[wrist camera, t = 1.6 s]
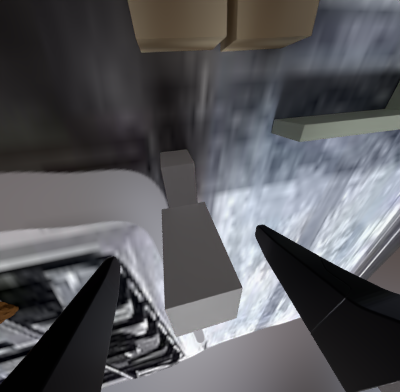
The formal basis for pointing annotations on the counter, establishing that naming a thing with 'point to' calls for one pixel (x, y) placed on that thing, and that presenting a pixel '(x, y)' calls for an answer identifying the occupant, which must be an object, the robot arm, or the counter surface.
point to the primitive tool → (7, 311)
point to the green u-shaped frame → (341, 123)
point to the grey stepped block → (193, 254)
